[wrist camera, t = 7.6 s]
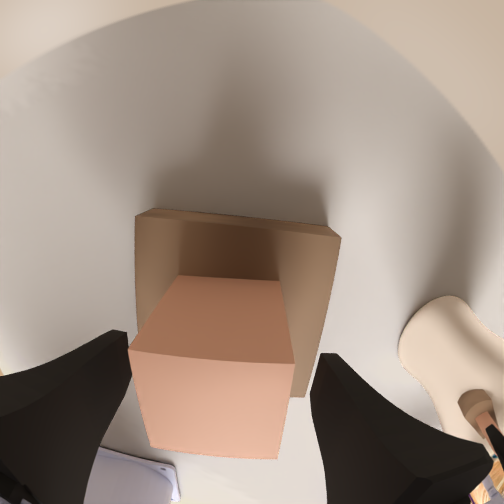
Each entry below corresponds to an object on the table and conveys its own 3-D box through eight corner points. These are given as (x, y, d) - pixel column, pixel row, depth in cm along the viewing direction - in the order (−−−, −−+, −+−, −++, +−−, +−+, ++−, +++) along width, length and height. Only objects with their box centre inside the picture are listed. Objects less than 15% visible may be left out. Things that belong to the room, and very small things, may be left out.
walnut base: (157, 350, 18) (142, 379, 15) (156, 206, 15) (135, 216, 12) (298, 366, 18) (304, 397, 15) (326, 224, 15) (341, 237, 13)
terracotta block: (182, 357, 14) (150, 446, 9) (177, 274, 13) (127, 349, 7) (271, 363, 14) (277, 459, 9) (279, 281, 13) (295, 364, 7)
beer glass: (375, 376, 18) (460, 570, 3) (414, 281, 16) (594, 463, 1) (448, 376, 18) (540, 515, 4) (485, 294, 16) (627, 415, 2)
